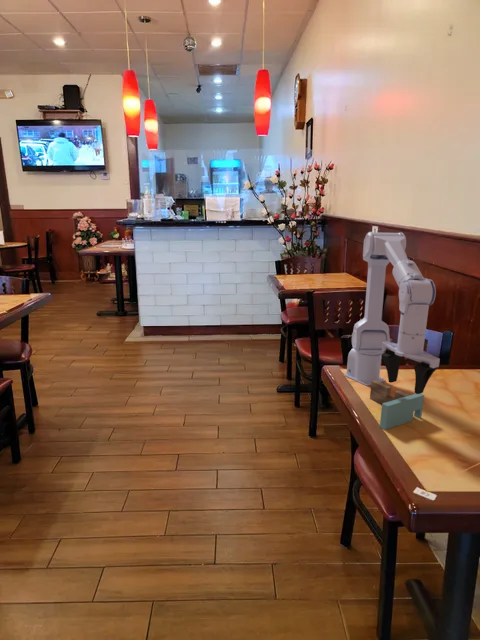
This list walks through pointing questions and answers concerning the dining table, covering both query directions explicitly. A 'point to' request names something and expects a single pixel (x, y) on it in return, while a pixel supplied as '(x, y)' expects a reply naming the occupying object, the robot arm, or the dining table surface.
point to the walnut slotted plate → (383, 392)
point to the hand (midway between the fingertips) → (405, 387)
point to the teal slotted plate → (401, 410)
